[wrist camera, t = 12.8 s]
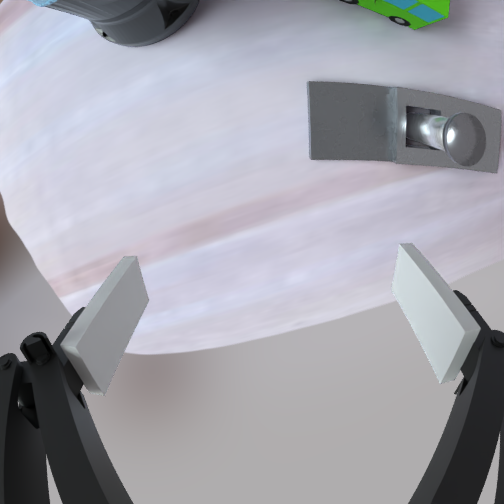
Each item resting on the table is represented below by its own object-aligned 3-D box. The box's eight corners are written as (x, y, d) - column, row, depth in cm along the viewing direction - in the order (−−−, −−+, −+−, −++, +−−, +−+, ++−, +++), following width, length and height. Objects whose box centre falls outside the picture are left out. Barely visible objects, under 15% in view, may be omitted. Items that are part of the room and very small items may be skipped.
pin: (396, 104, 33) (448, 109, 22) (430, 109, 33) (487, 117, 21) (395, 144, 36) (445, 164, 24) (429, 147, 35) (484, 168, 24)
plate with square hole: (306, 82, 33) (310, 80, 30) (489, 108, 31) (501, 110, 29) (309, 157, 37) (313, 161, 35) (486, 168, 36) (497, 173, 33)
